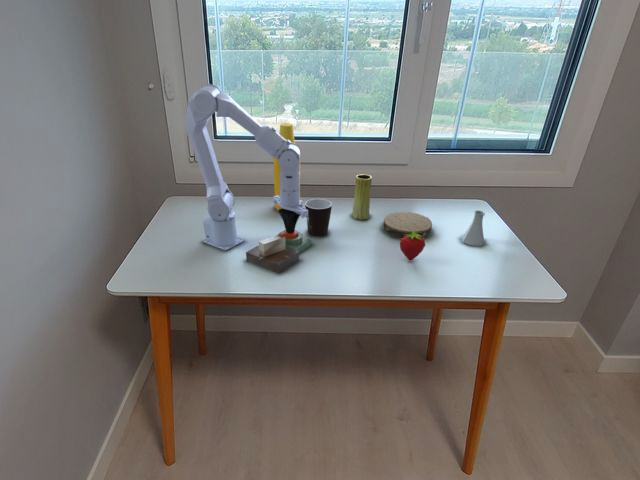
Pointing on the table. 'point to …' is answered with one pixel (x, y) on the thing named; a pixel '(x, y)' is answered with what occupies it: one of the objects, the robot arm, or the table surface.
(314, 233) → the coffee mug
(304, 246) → the button box
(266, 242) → the cream rectangular block
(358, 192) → the vase
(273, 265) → the switch base
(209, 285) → the table surface
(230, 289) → the table surface
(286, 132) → the beer bottle
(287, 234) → the button
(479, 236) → the flask
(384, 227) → the cork coaster disc
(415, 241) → the strawberry
